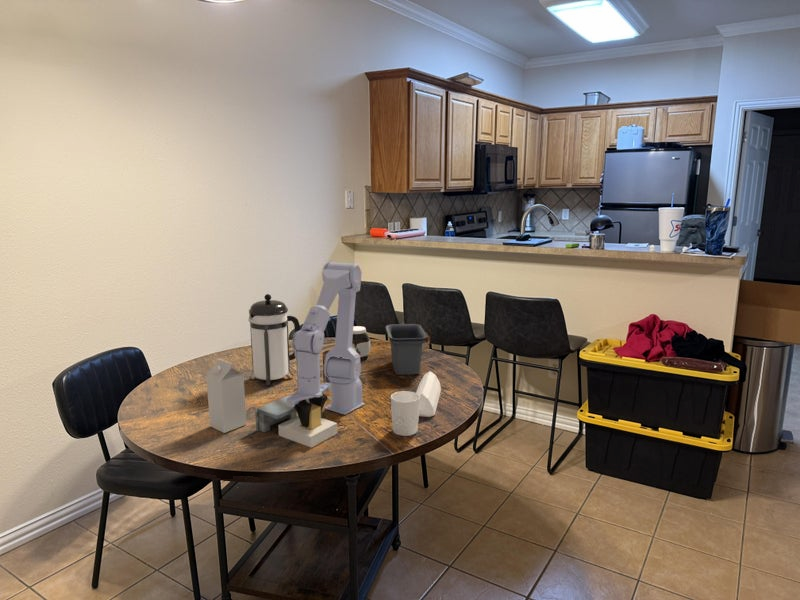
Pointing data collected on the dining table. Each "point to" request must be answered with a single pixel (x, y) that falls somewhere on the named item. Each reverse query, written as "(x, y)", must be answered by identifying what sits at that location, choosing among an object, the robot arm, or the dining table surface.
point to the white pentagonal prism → (428, 394)
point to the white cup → (405, 412)
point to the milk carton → (226, 397)
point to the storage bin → (406, 347)
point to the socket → (307, 431)
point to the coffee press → (270, 339)
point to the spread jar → (361, 341)
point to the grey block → (274, 413)
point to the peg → (314, 417)
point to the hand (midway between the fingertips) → (310, 423)
